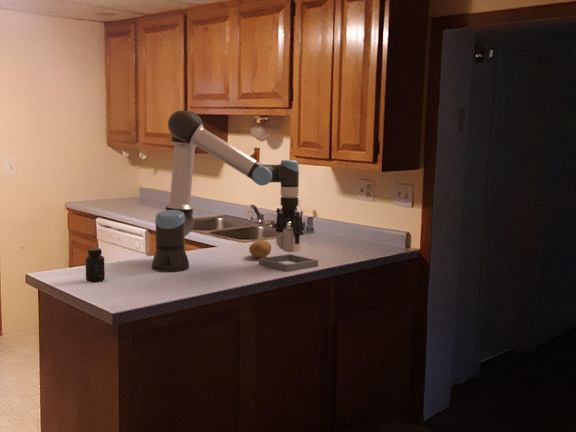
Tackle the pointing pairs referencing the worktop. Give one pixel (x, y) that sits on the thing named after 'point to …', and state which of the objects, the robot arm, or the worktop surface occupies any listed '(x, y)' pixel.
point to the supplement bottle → (95, 265)
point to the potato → (260, 249)
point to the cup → (286, 240)
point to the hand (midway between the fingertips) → (288, 249)
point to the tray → (275, 260)
